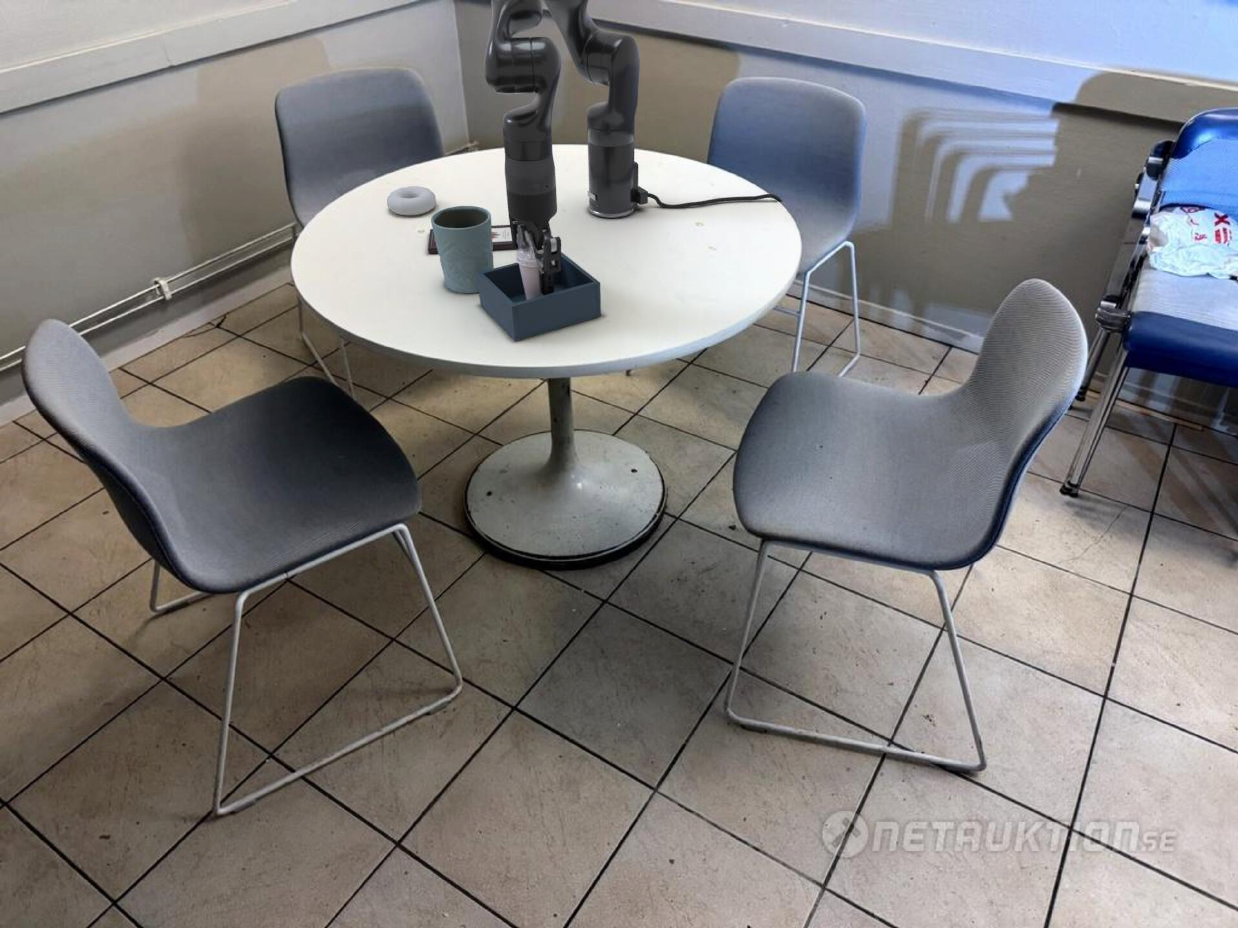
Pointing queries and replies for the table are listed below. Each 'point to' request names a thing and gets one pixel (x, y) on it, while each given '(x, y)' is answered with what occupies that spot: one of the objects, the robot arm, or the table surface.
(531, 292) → the smoothie
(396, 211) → the donut
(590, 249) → the table surface
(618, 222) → the table surface
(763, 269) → the table surface
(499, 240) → the chocolate bar
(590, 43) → the robot arm
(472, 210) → the blue-green cup
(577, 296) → the basin
